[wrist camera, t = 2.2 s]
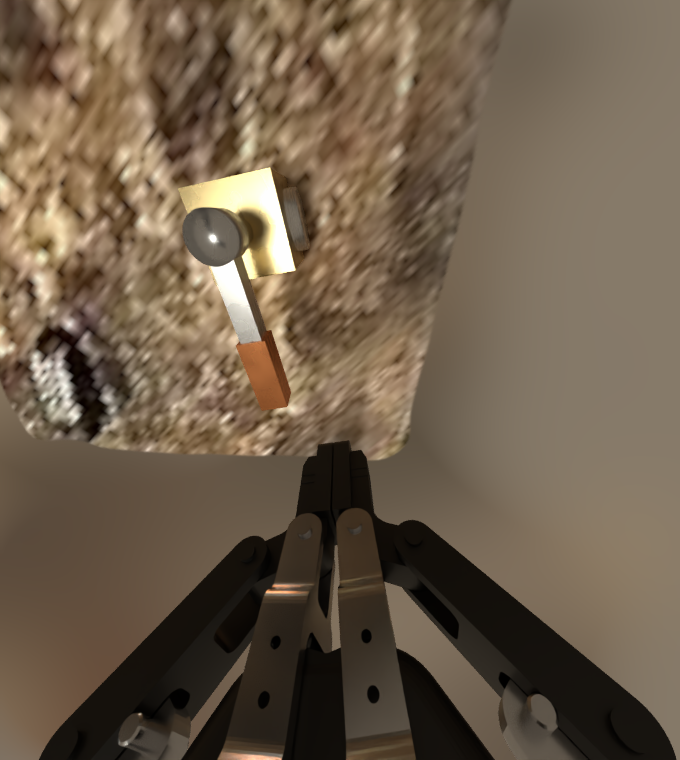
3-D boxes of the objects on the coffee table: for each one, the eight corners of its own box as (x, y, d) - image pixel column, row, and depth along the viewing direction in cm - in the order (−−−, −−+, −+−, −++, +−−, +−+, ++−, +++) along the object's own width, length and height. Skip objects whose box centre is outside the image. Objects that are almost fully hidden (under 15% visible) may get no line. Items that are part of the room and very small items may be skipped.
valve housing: (204, 196, 27) (138, 188, 18) (296, 175, 26) (274, 156, 17) (231, 272, 30) (187, 297, 21) (313, 256, 29) (302, 275, 21)
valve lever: (192, 213, 18) (172, 213, 16) (239, 202, 18) (225, 201, 16) (262, 395, 26) (255, 412, 24) (296, 390, 25) (292, 407, 23)
